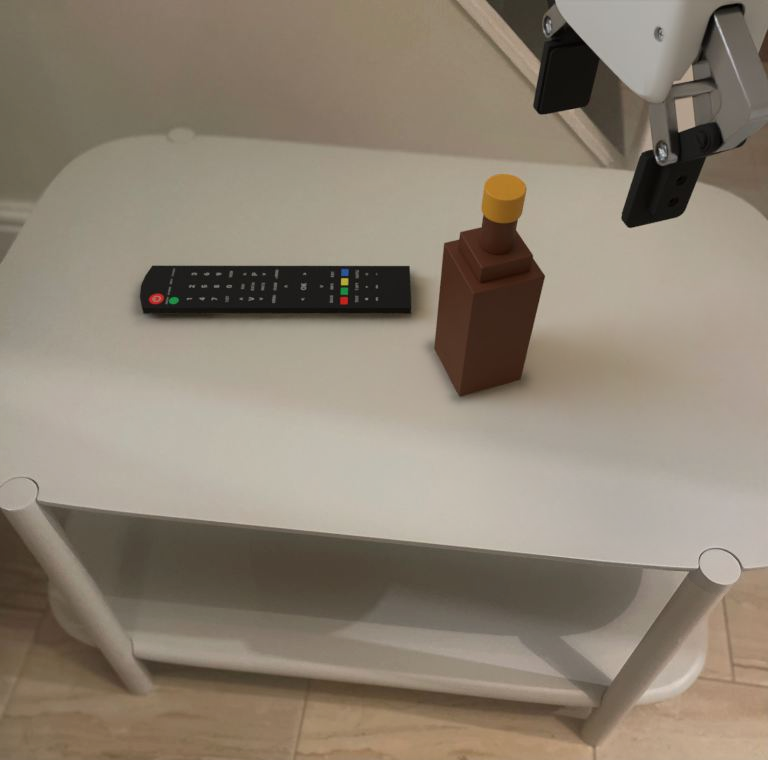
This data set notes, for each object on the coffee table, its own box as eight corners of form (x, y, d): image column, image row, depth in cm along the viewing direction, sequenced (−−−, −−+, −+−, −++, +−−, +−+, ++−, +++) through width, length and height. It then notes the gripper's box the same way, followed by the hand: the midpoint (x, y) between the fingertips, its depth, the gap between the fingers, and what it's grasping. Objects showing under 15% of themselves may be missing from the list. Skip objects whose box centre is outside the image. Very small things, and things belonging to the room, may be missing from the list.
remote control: (410, 318, 70) (411, 307, 69) (138, 318, 70) (135, 307, 69) (409, 276, 73) (409, 265, 72) (149, 276, 73) (146, 265, 72)
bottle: (520, 379, 66) (562, 203, 52) (459, 397, 65) (483, 221, 50) (493, 332, 69) (525, 154, 55) (433, 348, 68) (450, 169, 54)
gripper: (991, -179, 23) (764, 254, 37) (676, -317, 33) (588, 62, 47) (775, -152, 22) (620, 289, 35) (514, -305, 32) (471, 83, 45)
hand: (602, 159), depth 41 cm, fingers open, 9 cm apart
